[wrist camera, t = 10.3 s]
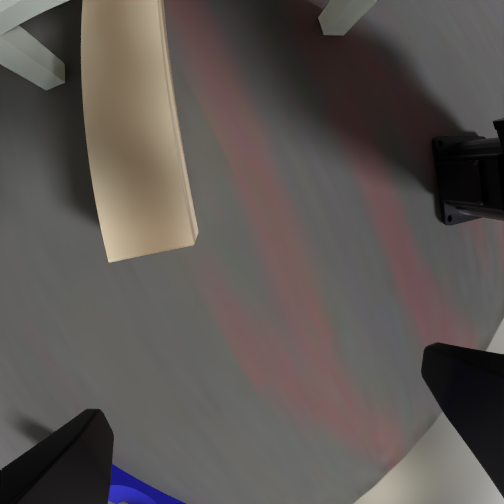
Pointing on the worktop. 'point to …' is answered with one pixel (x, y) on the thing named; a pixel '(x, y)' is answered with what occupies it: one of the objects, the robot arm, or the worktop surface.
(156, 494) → the cable clip
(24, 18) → the small white table
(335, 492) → the worktop surface
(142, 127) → the batten
